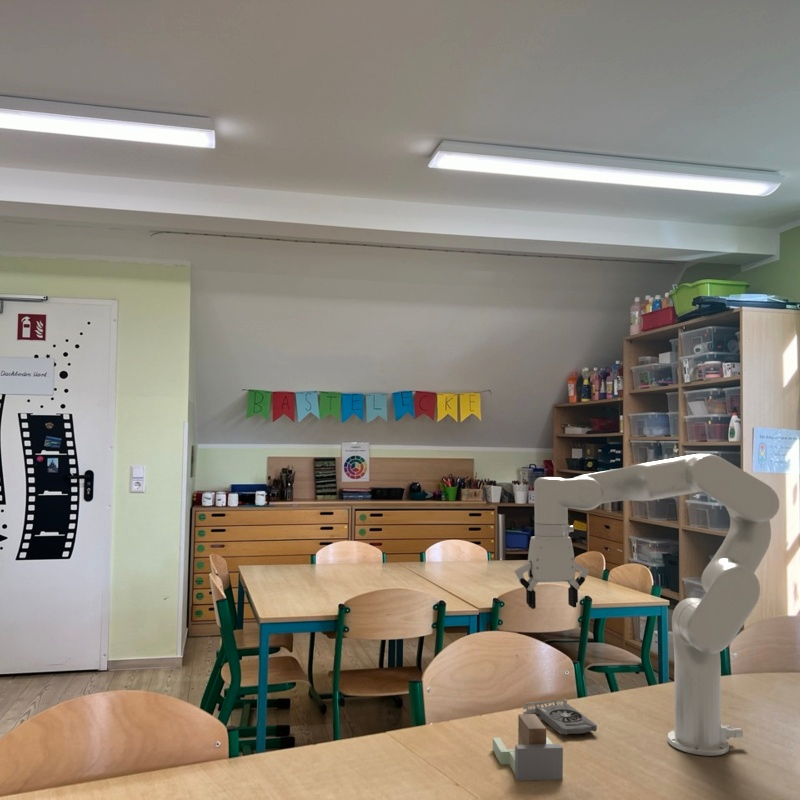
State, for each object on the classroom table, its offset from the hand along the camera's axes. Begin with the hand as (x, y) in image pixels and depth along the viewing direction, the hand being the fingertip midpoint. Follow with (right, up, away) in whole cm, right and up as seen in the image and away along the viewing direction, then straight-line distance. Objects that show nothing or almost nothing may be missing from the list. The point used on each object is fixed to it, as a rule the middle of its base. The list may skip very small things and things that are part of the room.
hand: (552, 606), depth 169 cm
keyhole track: (-8, -27, -18) cm, 33 cm away
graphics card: (+3, -30, +5) cm, 30 cm away
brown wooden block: (-8, -27, -18) cm, 34 cm away
